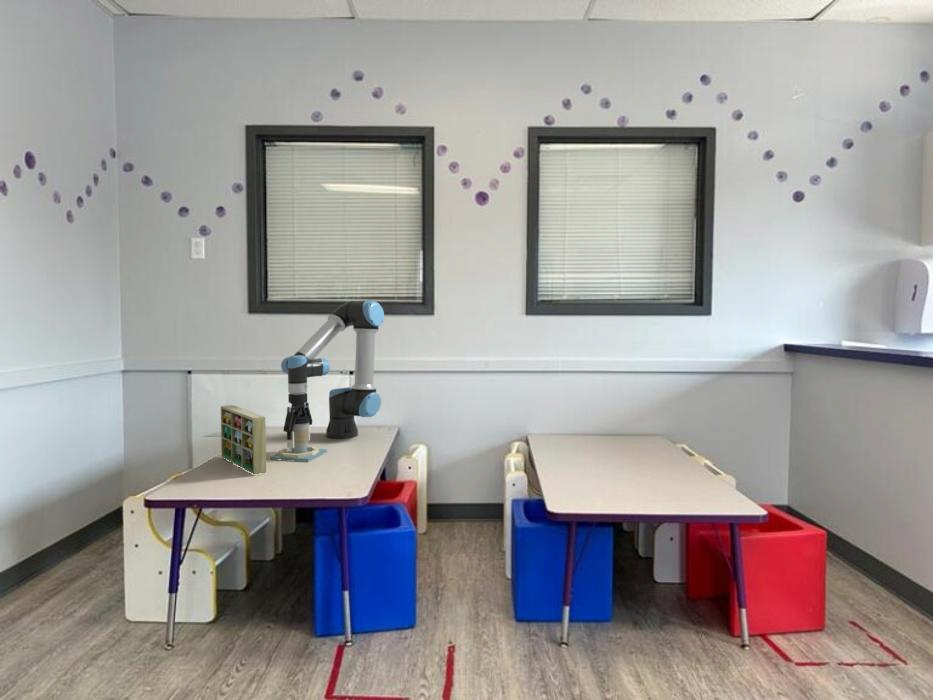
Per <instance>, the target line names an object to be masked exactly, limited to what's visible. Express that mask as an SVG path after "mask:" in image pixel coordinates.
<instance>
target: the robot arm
mask: <svg viewBox="0 0 933 700" xmlns="http://www.w3.org/2000/svg"><path fill="white" fill-rule="evenodd" d="M384 320H385V312H384V308H383V307H382V306H381V304H380V303H378V302H377V301H374V300H356V301H355V300H351V301H348V302H347V301H346V302H344V303H343V304H341V305H340V306H338V307H337V308H336V309H335V310H334V311H332V312H331V313H330V314H329V315H328V317H327V320H326V321H325V322H324V323H323V325H322V326H321V327H320V328H319V329H318V330H316V332H315V333H314V334H313V335H312V336H311V337H310V338H308V340H307V341H306V342H305V343H304V344H303V345H302V346H301V347H300V348H299V349H298V351H296V352H295V353H294V354H293V355H290V356H287V357H285V358H283V359H282V361H281V363H280V367H281V368H280V369H281V370H282V372H283V373H284V374H287V383H288V384H287V385H288V386H287V392H288V393H289V394H288V403H289V404H290V405H291V406H287V408H286V416H285V421H284V426H283V432H285V433H286V448H294V432H292V431H293V428H294V426H295V423H296V420H297V418H298V417H299V416H308V417H309V419H310V422H309V437H308V442H310V440H311V432H310V431H311V429H310V428H311V425H313V418H312V413H311V410H310V406H309V405H310V403H309V402H308V393H307V392H308V386H309V385H308V378H313V377H323V376H327V374H329V372H330V369H331V366H330V362H329V361H328V360H327V359H326V358H320V357H318V358H316V357H317V356H318V355H319V354H320V353H321V352H322V351H323V350H324V349H325V348H326V346H328V345H329V343H330V342H332V340H333V339H334V338H336V336H337V335H338V334H339V333H340V332H344V331H345V330H346V329H347V328H349V327H352V326H353V328H352V329H353V331H354V332H355V333H356V337H355V361H354V362H355V363H354V364H355V365H354V384H353V385H352V386H350V387H349V386H347V387H340V388H339V387H337V388H332V389H331V390H330V391H329V392H328V393H329V394H328V407H329V420H328V421H329V422H328V424H327V428H326V429H325V437H326V436H327V438H329V437H330V439H348V437H351V438H355V437H358V436H359V429H358V426H357V423H356V421H355V417H361V418H372V417H374V416H375V415H377V413H378V412H379V410H380V409H381V406H382V405H381V404H382V398H381V396H380V394H379V393H377V387H376V386H375V385H374V370H375V369H374V368H375V346H376V345H375V341H376V340H375V339H376V333H378V331H379V327H380V326H381V325H383V322H385V321H384ZM354 436H355V437H354Z"/></svg>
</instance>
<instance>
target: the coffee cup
mask: <svg viewBox="0 0 933 700" xmlns="http://www.w3.org/2000/svg"><path fill="white" fill-rule="evenodd" d="M309 422H310V419H309V417H308V416H299V417H298V418H297V420H296V423H295V426H294V428H293V431H292V432H294V448H291V449H292V454H300V453H307V446H308V444H309V443H308V442H309V441H308V437H309Z"/></svg>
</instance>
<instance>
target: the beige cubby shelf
mask: <svg viewBox="0 0 933 700" xmlns="http://www.w3.org/2000/svg"><path fill="white" fill-rule="evenodd" d="M266 432H267V431H266V416H263V415H261V414H259V413H255V412H253V411H250V410H248V409H246V408H245V409H244V408H242V407H240V406H239V407H238V406H235V405H232V404H229V405H226V404H225V405H221V406H220V445H221V446H220V447H221V450H220V451H221V458H222V457H223V458H225V459H227V460H229V461H231V462H232V463H234V464H236V465H238V466H240V467H242V468H244V469H245V470H247V471H249V472H251V473H253V474H259V473H265V472H266V473H267V443H266V442H267V441H266V434H267V433H266ZM223 458H222V459H223ZM225 459H224V460H225ZM232 463H231V464H232Z"/></svg>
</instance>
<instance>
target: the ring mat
mask: <svg viewBox="0 0 933 700" xmlns="http://www.w3.org/2000/svg"><path fill="white" fill-rule="evenodd" d="M325 452H326V453H327V452H328V449H327V448H319V447H316V446H311V445H307V453H300V454H292V449H291V448H287V447H285V448H283V449H280V450H278V452H277V453H275V454H273V455H270V456H269V460H270V459H281V460H294V461H293V462H299V461H306V462H305V463H309V462H311V461H313V460H315V459H317V458H319V457H321V456H322V454H323V453H324V454H326V453H325ZM324 454H323V455H324ZM320 455H321V456H320ZM318 456H319V457H318ZM316 457H317V458H316ZM281 460H280V461H281Z"/></svg>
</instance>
